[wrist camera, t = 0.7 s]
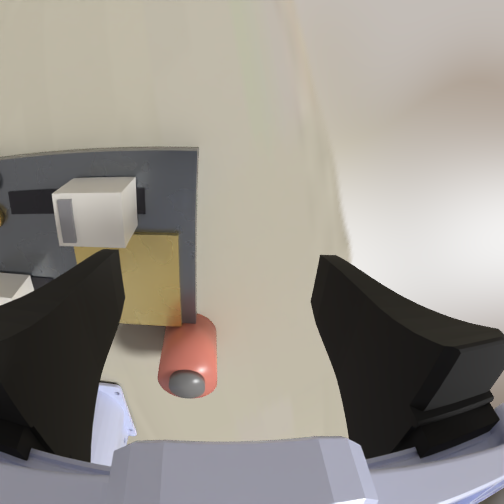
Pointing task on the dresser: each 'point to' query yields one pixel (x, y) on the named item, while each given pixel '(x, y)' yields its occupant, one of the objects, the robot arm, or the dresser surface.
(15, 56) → the dresser surface
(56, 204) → the block
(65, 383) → the robot arm
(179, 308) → the panel
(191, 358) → the cap
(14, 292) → the block
